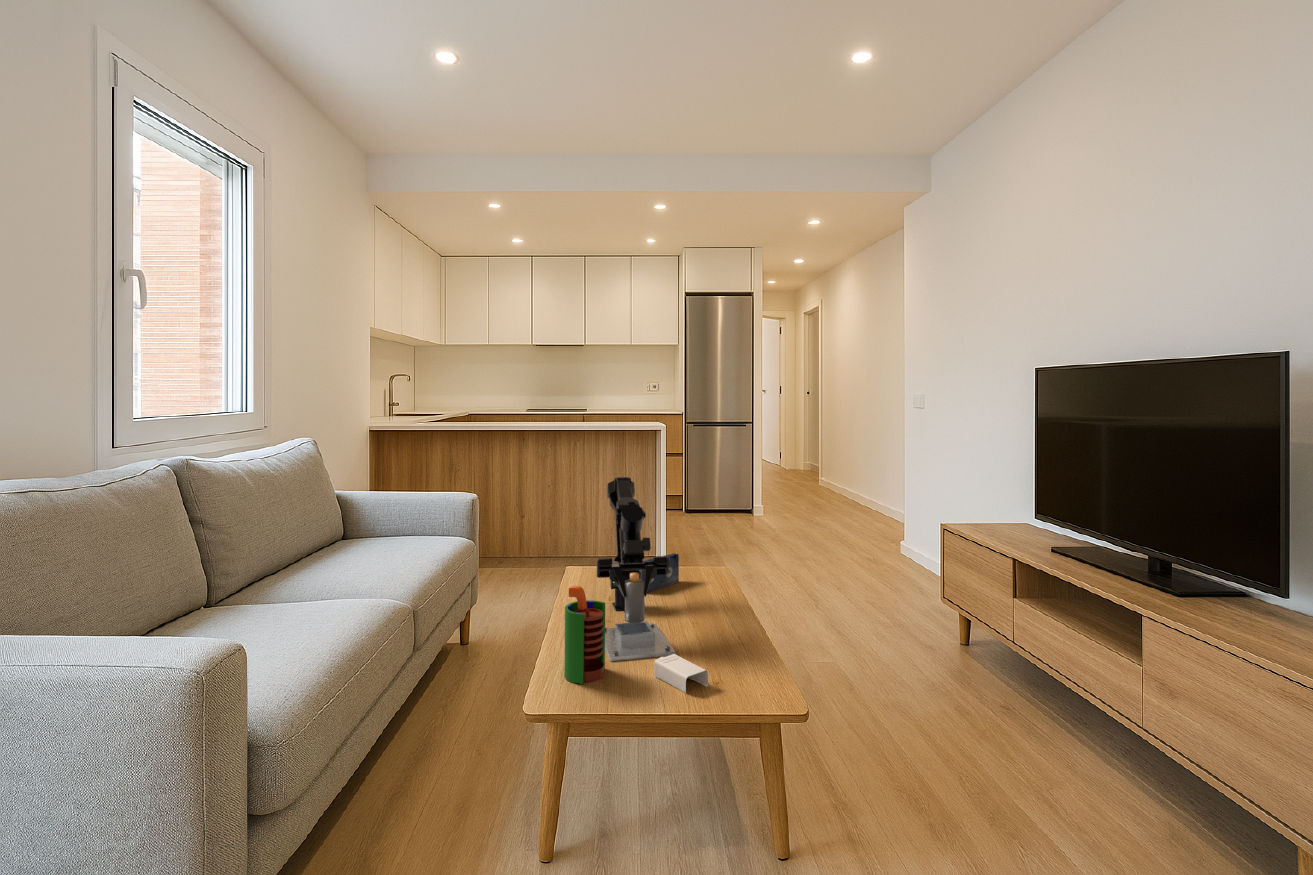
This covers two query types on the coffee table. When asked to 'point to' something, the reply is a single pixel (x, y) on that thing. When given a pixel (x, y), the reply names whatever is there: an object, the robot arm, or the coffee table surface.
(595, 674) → the motor
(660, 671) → the white plastic end cap
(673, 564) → the vhs cassette tape
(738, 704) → the coffee table surface
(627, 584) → the grey and orange piece
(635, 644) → the pump mount
